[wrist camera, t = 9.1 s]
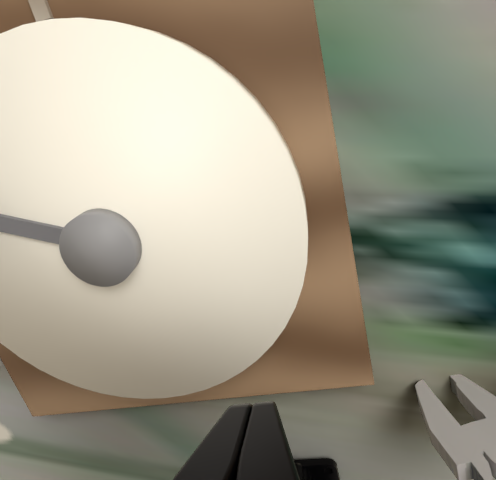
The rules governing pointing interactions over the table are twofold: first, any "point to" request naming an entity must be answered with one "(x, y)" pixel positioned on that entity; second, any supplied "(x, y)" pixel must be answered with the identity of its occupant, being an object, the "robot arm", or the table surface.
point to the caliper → (462, 429)
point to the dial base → (311, 173)
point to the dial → (140, 211)
